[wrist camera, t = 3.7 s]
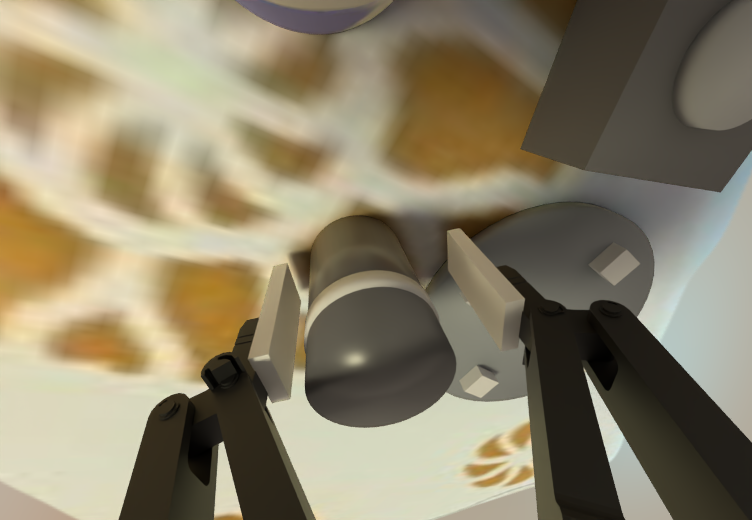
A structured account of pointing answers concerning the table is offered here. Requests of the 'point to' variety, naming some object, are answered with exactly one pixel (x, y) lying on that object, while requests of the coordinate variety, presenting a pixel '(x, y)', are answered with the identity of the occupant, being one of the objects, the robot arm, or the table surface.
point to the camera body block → (650, 91)
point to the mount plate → (542, 284)
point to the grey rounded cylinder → (370, 329)
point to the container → (316, 13)
